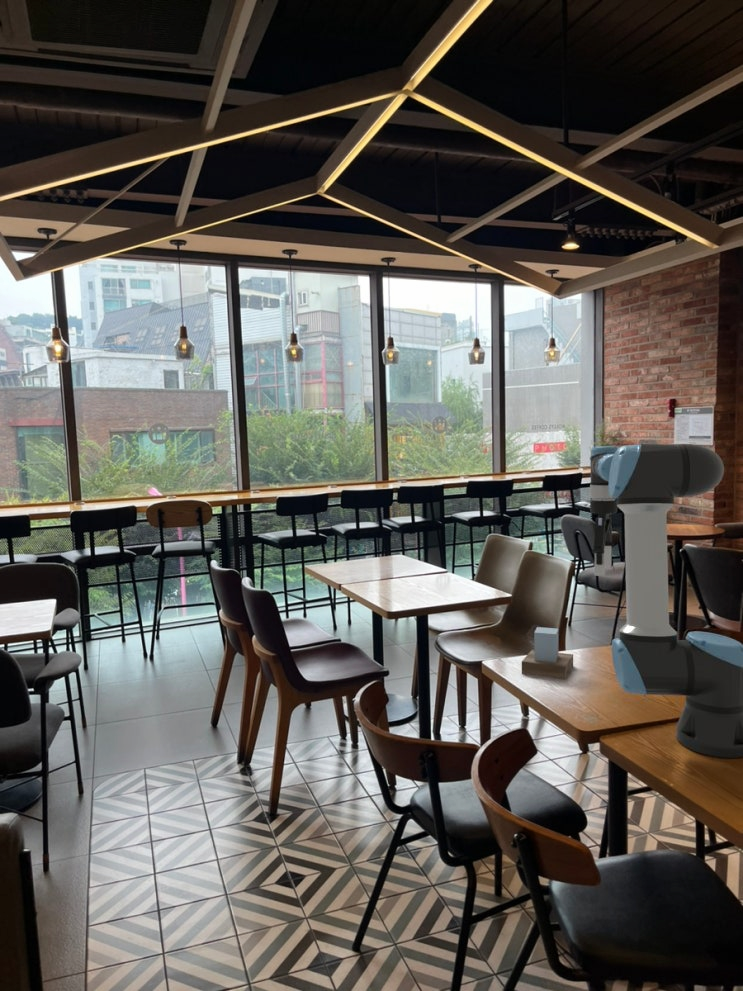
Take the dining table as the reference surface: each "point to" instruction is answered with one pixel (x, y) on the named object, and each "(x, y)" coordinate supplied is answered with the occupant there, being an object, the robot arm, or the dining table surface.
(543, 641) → the slate block
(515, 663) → the dining table surface
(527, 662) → the walnut block
